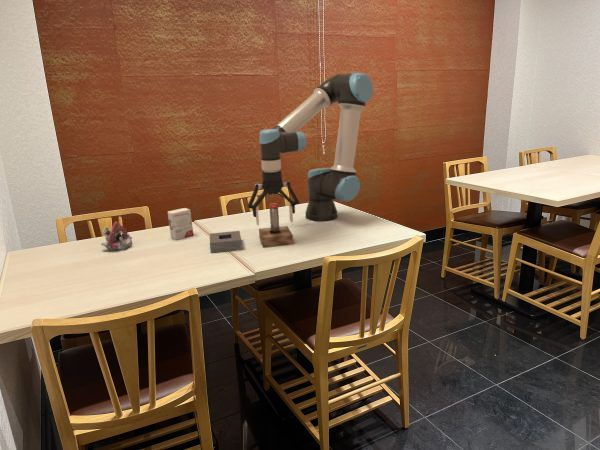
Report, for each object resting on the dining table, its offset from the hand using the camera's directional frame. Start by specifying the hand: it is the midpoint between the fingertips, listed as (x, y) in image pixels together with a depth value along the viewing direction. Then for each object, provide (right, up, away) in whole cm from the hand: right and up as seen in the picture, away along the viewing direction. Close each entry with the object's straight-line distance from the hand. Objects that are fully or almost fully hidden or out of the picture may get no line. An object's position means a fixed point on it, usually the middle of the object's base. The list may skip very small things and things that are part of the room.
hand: (274, 222), depth 177 cm
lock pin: (0, -7, +2) cm, 8 cm away
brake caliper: (-63, -10, +3) cm, 64 cm away
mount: (0, -7, +2) cm, 8 cm away
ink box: (-40, -6, +13) cm, 43 cm away
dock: (-19, -9, -1) cm, 21 cm away
